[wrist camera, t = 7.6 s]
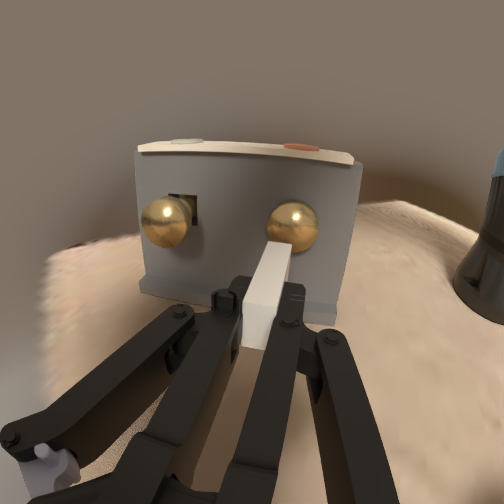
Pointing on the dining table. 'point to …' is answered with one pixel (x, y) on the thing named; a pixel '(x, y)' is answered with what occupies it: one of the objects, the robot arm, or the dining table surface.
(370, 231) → the dining table surface
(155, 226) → the knob
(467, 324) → the dining table surface
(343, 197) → the console
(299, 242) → the brass knob
